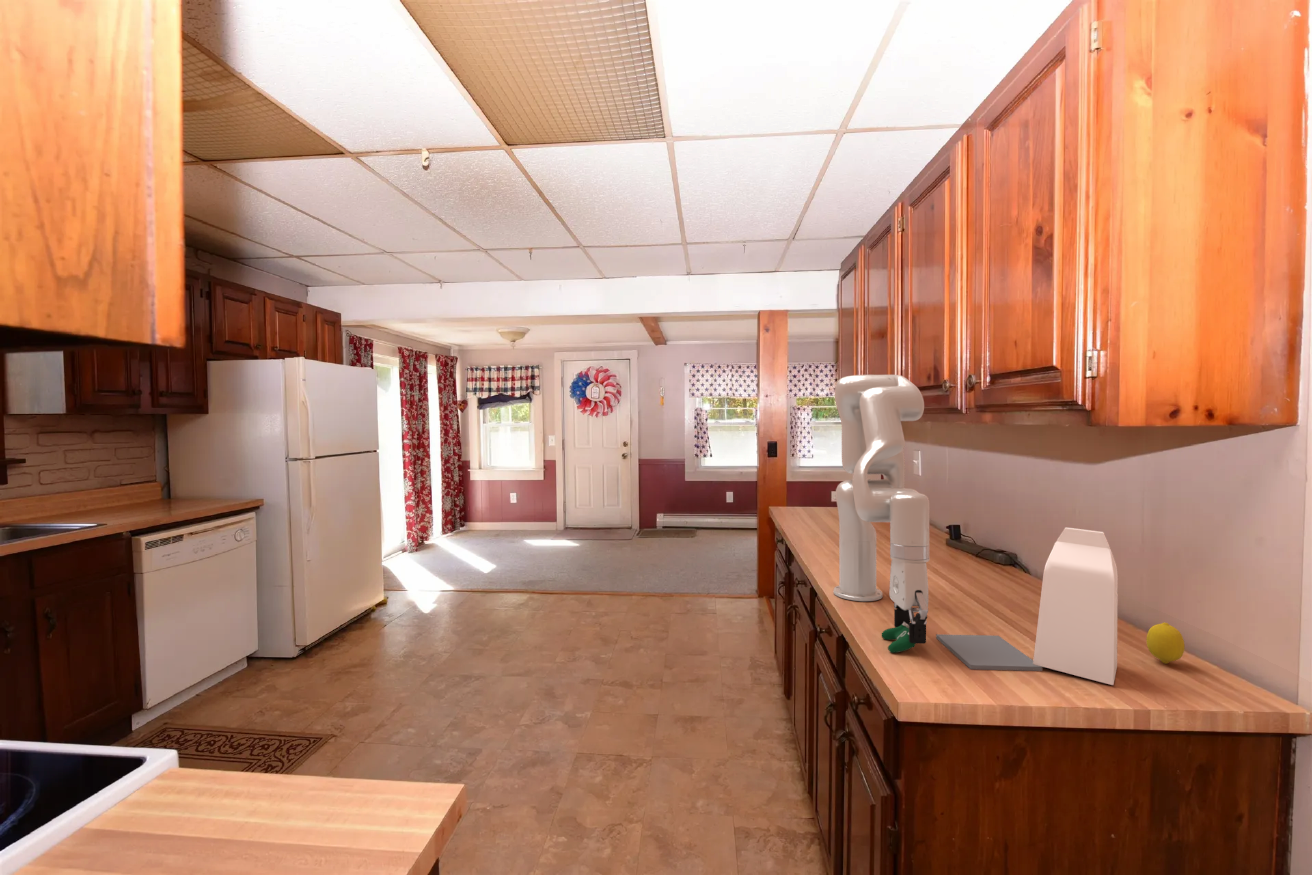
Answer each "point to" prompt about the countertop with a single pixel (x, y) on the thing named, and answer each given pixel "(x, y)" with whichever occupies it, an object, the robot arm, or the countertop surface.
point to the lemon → (1165, 642)
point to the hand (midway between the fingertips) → (909, 634)
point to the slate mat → (987, 652)
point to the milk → (1079, 607)
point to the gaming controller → (898, 638)
